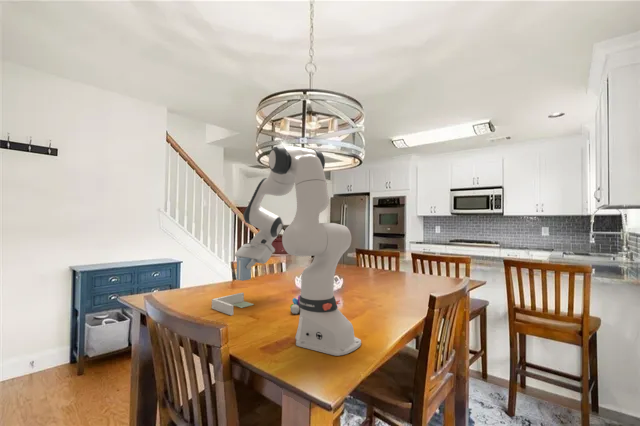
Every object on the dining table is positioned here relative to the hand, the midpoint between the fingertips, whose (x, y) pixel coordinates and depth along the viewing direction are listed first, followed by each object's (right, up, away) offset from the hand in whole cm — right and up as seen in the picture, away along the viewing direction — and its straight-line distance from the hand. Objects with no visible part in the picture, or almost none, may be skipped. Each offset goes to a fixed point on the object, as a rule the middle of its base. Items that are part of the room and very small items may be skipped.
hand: (242, 267), depth 145 cm
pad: (0, -17, 0) cm, 17 cm away
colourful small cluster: (+27, -18, -9) cm, 34 cm away
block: (0, -5, 0) cm, 5 cm away
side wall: (-6, -17, -10) cm, 21 cm away
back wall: (-7, -17, 0) cm, 18 cm away
